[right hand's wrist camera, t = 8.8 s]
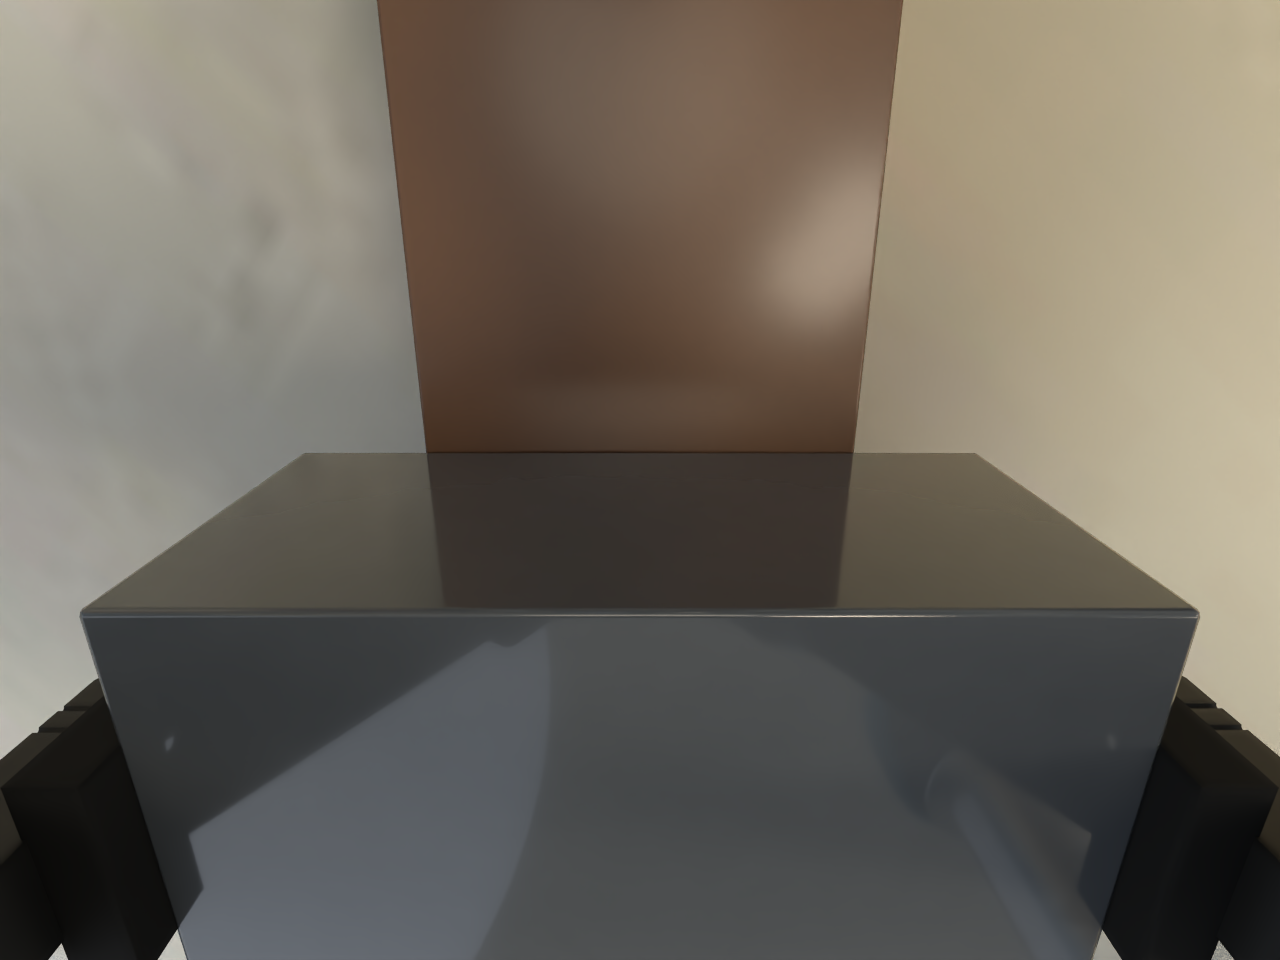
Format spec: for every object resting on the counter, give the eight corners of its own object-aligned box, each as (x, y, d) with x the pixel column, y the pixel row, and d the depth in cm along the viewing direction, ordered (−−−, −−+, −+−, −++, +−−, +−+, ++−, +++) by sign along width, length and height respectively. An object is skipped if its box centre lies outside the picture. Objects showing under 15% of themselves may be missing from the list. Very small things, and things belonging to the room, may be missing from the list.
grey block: (977, 451, 12) (1206, 611, 7) (926, 749, 14) (1075, 1026, 9) (302, 451, 12) (73, 610, 7) (353, 748, 14) (204, 1026, 9)
